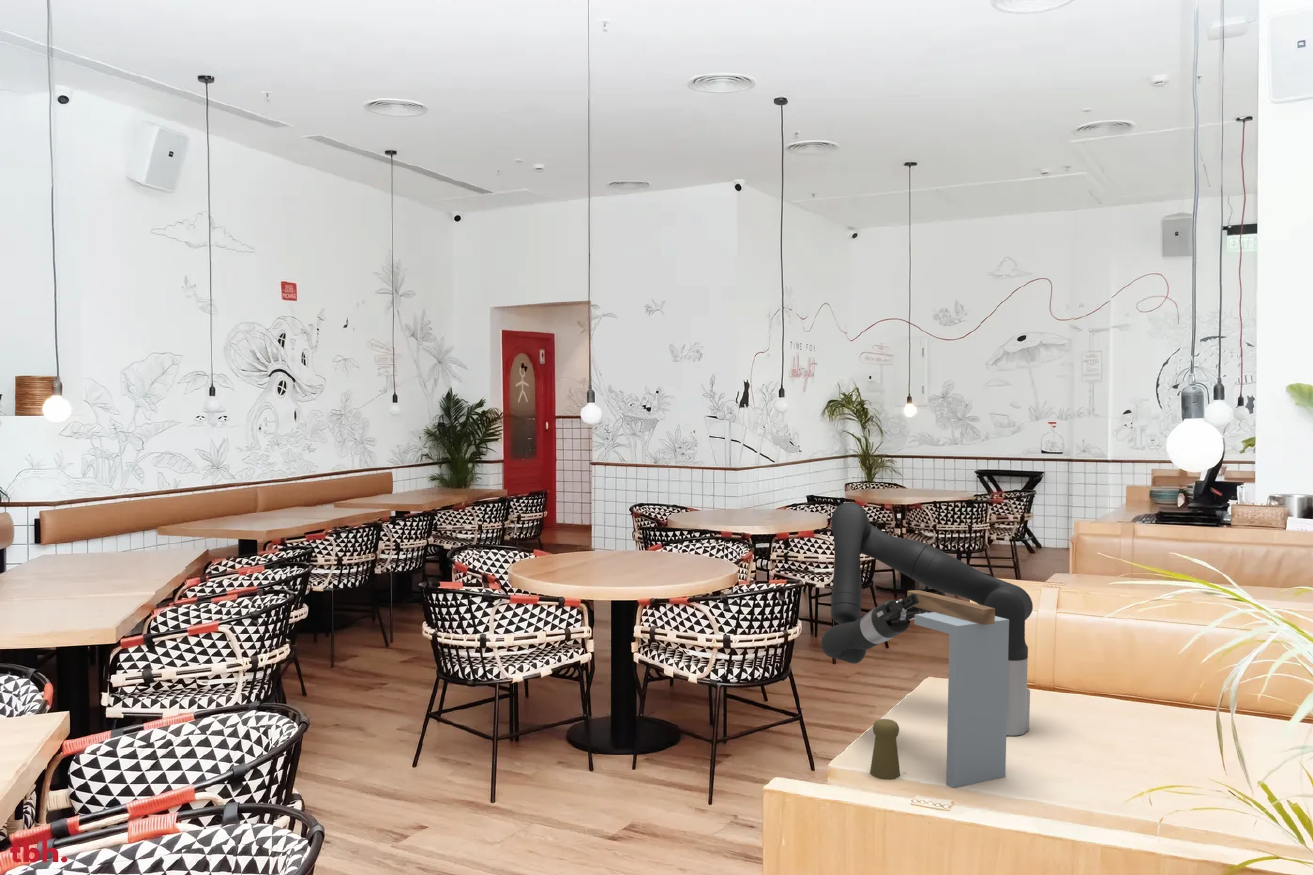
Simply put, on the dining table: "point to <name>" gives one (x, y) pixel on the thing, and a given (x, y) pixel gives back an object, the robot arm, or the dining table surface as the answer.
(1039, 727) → the dining table surface
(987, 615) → the walnut rod
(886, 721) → the olive pawn
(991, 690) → the shelf stand
